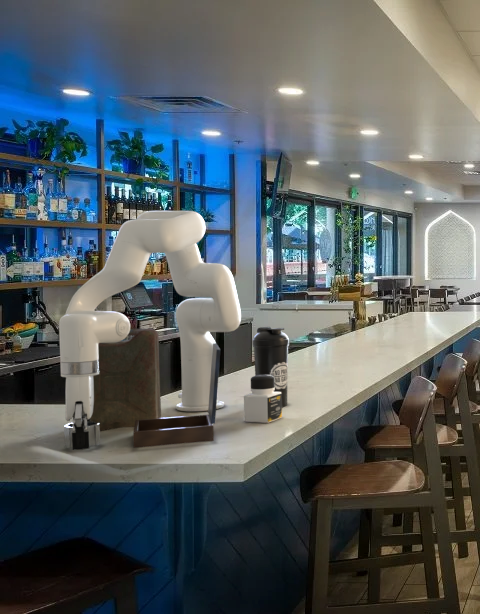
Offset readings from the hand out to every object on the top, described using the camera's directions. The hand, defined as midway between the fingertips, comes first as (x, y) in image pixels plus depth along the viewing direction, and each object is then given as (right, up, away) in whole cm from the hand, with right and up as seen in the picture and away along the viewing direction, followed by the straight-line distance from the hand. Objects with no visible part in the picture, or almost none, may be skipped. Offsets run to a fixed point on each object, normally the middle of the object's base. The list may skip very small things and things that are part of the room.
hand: (82, 445), depth 179 cm
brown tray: (+17, 0, +8) cm, 19 cm away
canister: (-3, +1, +22) cm, 22 cm away
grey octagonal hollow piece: (0, -1, 0) cm, 1 cm away
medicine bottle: (+30, +1, +32) cm, 44 cm away
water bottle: (+26, +2, +52) cm, 58 cm away
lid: (+25, +13, +10) cm, 30 cm away
